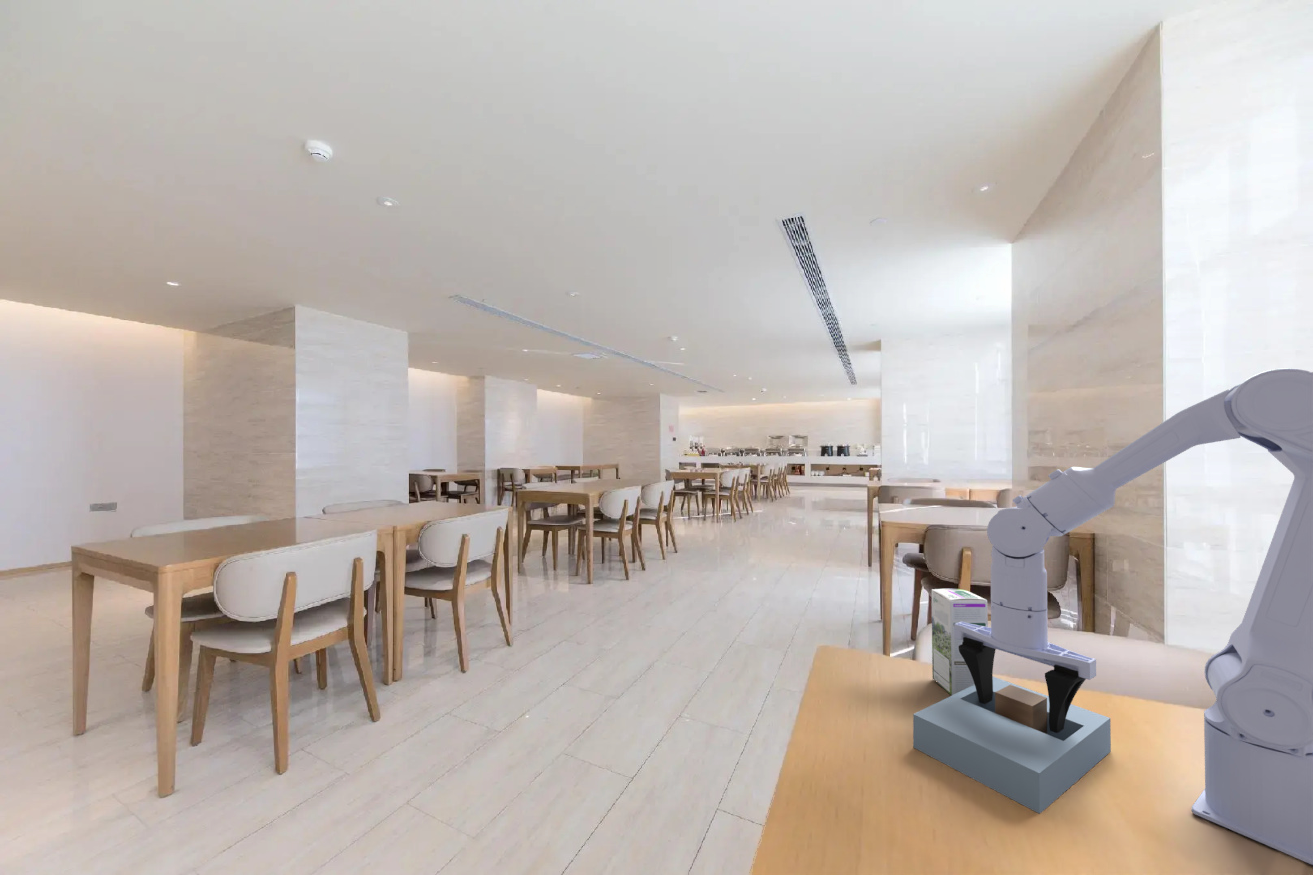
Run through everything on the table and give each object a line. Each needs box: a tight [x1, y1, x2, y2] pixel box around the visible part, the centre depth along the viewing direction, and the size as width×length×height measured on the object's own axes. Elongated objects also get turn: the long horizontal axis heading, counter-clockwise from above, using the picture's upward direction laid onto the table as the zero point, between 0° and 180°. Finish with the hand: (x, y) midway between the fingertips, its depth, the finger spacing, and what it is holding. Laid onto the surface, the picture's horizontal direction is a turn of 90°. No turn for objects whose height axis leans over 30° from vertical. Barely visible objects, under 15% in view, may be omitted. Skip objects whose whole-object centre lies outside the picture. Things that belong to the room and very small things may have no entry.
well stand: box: [912, 676, 1112, 814], centre depth 60 cm, size 13×20×4 cm, turn 122°
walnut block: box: [995, 685, 1047, 734], centre depth 62 cm, size 4×4×6 cm
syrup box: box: [931, 588, 989, 696], centre depth 76 cm, size 6×6×14 cm
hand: (1019, 714), depth 62 cm, fingers open, 7 cm apart
